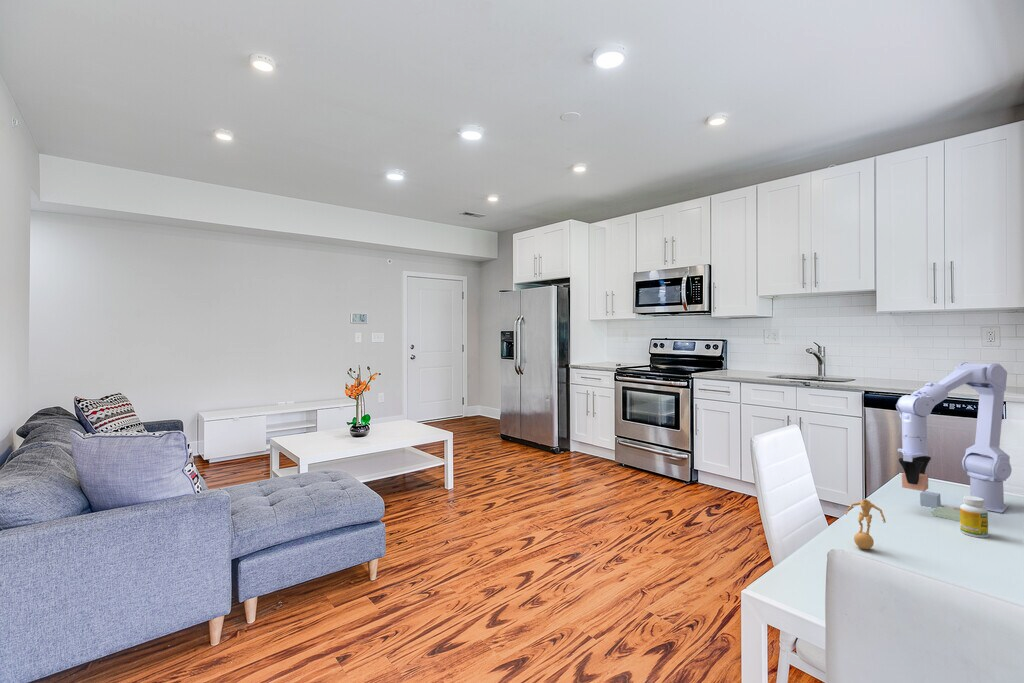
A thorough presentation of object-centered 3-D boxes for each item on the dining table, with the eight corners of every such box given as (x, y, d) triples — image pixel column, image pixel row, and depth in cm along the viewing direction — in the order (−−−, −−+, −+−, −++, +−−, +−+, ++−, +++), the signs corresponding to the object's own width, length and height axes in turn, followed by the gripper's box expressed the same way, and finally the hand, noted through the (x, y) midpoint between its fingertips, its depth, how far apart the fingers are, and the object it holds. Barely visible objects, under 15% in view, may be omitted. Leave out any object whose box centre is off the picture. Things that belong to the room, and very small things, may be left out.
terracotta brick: (907, 484, 148) (907, 471, 148) (928, 488, 144) (928, 474, 144) (902, 487, 145) (902, 473, 145) (923, 491, 141) (923, 477, 141)
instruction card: (946, 505, 150) (946, 505, 150) (972, 511, 145) (972, 510, 145) (941, 510, 147) (940, 509, 147) (967, 515, 142) (967, 515, 142)
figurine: (841, 545, 123) (841, 498, 123) (849, 539, 127) (848, 493, 127) (882, 556, 117) (881, 506, 117) (888, 549, 121) (887, 500, 121)
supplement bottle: (964, 528, 132) (963, 493, 132) (991, 535, 128) (990, 498, 128) (957, 533, 129) (956, 497, 129) (984, 540, 125) (984, 502, 125)
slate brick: (923, 503, 153) (923, 490, 153) (940, 506, 150) (940, 493, 150) (920, 506, 151) (920, 493, 151) (937, 509, 148) (936, 496, 148)
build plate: (938, 510, 147) (938, 506, 147) (969, 516, 141) (969, 512, 141) (932, 515, 142) (931, 511, 142) (964, 522, 137) (964, 518, 137)
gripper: (905, 431, 152) (906, 474, 152) (890, 437, 143) (891, 483, 143) (934, 434, 147) (935, 479, 147) (920, 441, 138) (921, 489, 138)
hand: (915, 481), depth 145 cm, fingers closed on terracotta brick, 5 cm apart
